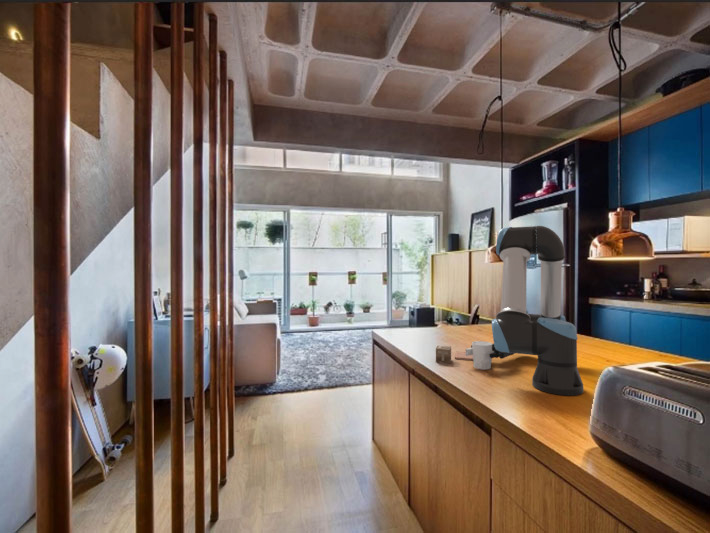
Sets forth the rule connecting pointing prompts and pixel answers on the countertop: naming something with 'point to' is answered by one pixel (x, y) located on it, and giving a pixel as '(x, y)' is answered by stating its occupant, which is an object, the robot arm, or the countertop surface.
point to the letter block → (443, 354)
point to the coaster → (463, 356)
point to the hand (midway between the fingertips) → (474, 354)
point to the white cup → (481, 354)
